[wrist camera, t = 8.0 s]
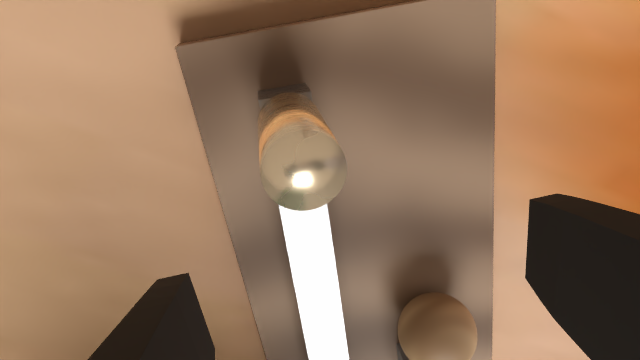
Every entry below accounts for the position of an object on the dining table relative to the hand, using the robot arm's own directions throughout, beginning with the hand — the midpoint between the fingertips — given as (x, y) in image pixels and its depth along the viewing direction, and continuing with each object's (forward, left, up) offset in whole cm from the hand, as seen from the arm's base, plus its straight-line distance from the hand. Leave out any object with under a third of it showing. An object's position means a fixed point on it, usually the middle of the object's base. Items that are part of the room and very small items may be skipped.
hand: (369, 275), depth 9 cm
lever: (+3, +5, -9) cm, 11 cm away
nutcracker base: (0, +6, -10) cm, 12 cm away
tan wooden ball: (0, +11, -9) cm, 14 cm away
